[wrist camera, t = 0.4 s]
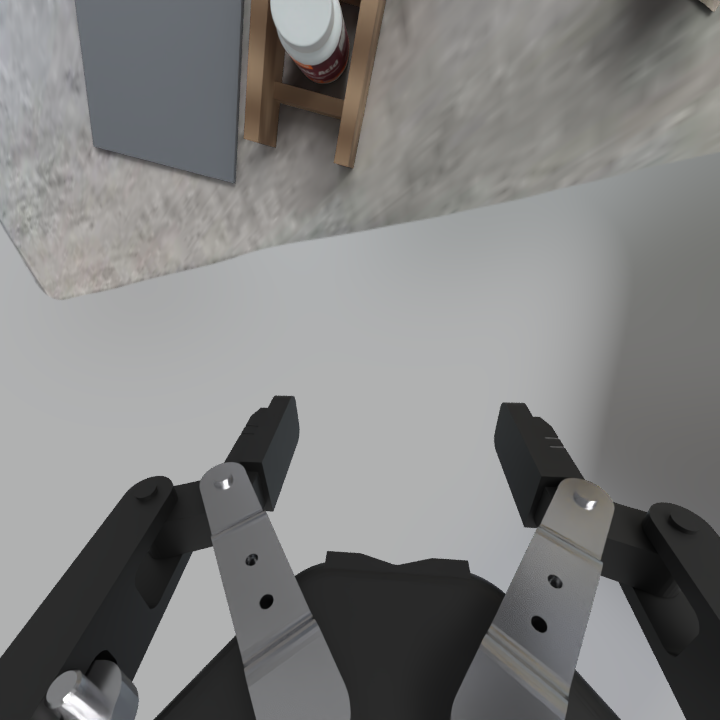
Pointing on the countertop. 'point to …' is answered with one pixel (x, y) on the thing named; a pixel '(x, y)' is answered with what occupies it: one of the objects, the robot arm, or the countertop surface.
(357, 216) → the countertop surface
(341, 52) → the pill bottle
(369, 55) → the wooden rack
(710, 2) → the condiment
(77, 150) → the countertop surface
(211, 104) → the mat
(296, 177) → the countertop surface
